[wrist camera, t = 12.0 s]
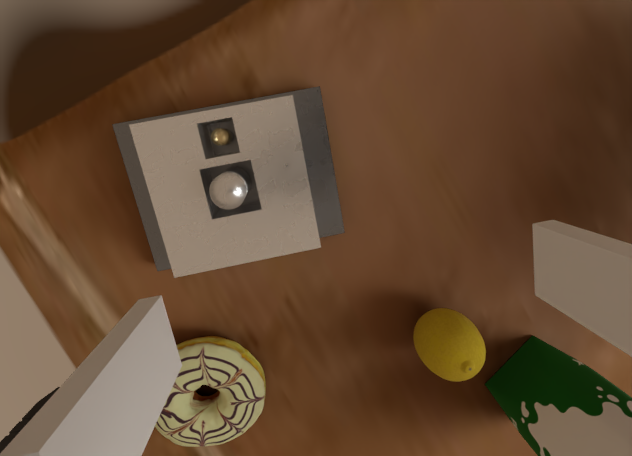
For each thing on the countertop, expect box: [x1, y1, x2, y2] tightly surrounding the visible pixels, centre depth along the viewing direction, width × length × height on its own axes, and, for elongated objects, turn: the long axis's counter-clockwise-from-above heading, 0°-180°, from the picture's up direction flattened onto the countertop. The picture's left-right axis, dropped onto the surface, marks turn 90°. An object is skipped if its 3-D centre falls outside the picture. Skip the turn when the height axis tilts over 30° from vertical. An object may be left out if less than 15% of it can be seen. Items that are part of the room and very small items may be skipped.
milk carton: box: [485, 335, 632, 456], centre depth 30 cm, size 9×9×20 cm
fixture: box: [112, 86, 345, 271], centre depth 29 cm, size 16×12×7 cm
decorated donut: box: [155, 336, 266, 447], centre depth 35 cm, size 10×11×4 cm
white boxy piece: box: [129, 95, 321, 278], centre depth 29 cm, size 11×11×4 cm
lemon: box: [413, 308, 486, 381], centre depth 33 cm, size 6×6×8 cm
